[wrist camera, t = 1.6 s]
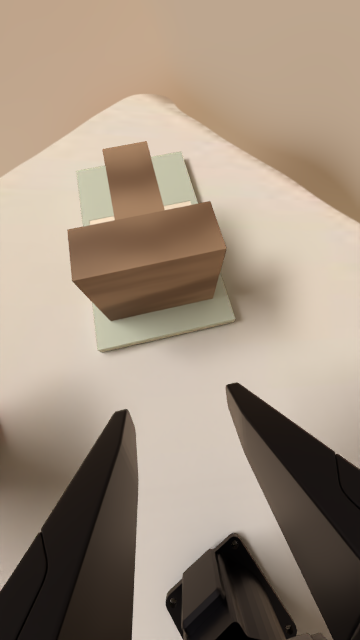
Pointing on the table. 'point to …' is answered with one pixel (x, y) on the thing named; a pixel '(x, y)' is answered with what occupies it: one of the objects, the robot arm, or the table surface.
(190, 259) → the t block
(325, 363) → the table surface
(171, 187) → the board
